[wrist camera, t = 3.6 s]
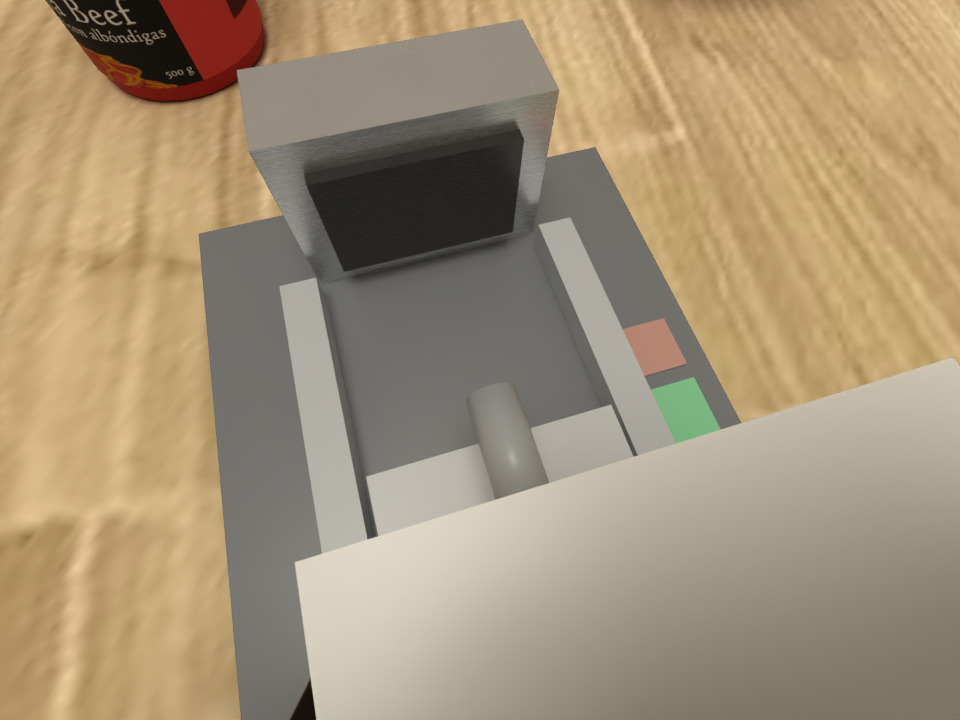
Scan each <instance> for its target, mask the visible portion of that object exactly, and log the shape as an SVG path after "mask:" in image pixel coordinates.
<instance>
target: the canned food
mask: <svg viewBox="0 0 960 720" xmlns="http://www.w3.org/2000/svg"><path fill="white" fill-rule="evenodd" d="M46 1H47V3H48V4H49V5H50V7H51V8H52V9H53V10H54V12H55V13H56V14H57V16H58V17H59V18H60V20H61V21H62V22H63V24H64V25H65V26H66V28H67V29H68V30H69V31H70V33H71V34H72V35H73V37H74V38H75V39H76V41H77V42H78V43H79V45H80V46H81V47H82V49H83V50H84V51H85V53H86V54H87V55H88V56H89V58H90V59H91V60H92V62H93V63H94V64H95V66H96V67H97V68H98V70H99V71H101V72H102V73H103V74H104V75H105V76H107V77H108V78H109V79H110V80H112V81H113V82H114V83H115V84H116V85H118V86H119V87H120V88H121V89H123V90H124V91H126V92H128V93H130V94H132V95H134V96H137V97H141V98H144V99H148V100H158V101H181V100H187V99H193V98H198V97H201V96H205V95H208V94H211V93H214V92H216V91H218V90H220V89H223V88H225V87H227V86H228V85H230V84H232V83H233V82H235V81H236V80H238V76H237V70H241V69H246V68H251V67H252V66H253V64H254V63H255V62H256V61H257V59H258V57H259V55H260V53H261V51H262V47H263V43H264V38H263V28H262V18H261V13H260V10H259V8H258V5H257V2H256V0H46Z"/></svg>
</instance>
